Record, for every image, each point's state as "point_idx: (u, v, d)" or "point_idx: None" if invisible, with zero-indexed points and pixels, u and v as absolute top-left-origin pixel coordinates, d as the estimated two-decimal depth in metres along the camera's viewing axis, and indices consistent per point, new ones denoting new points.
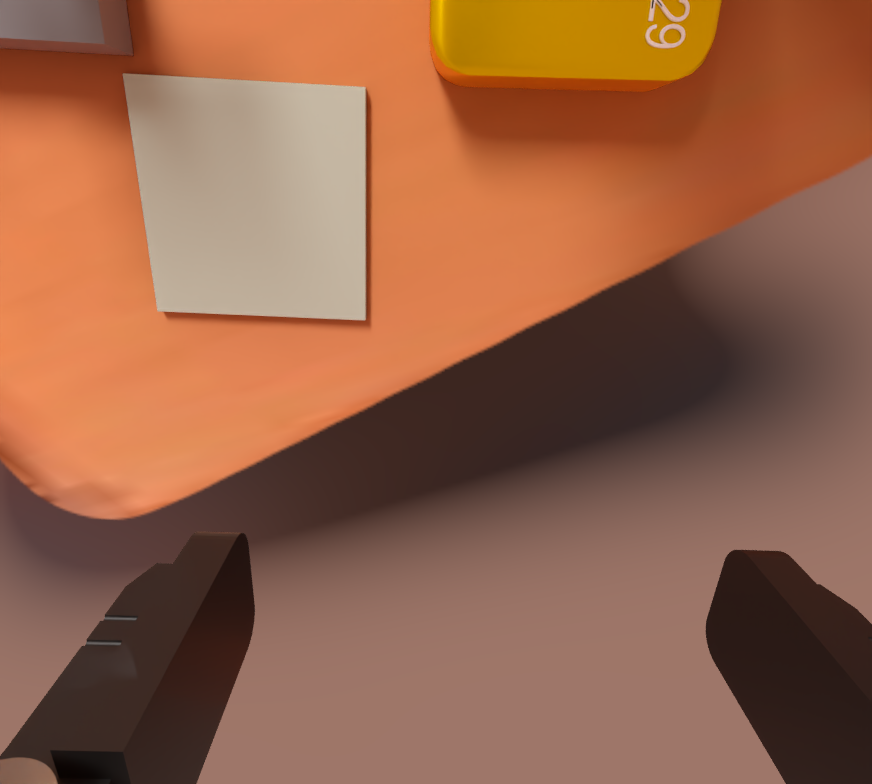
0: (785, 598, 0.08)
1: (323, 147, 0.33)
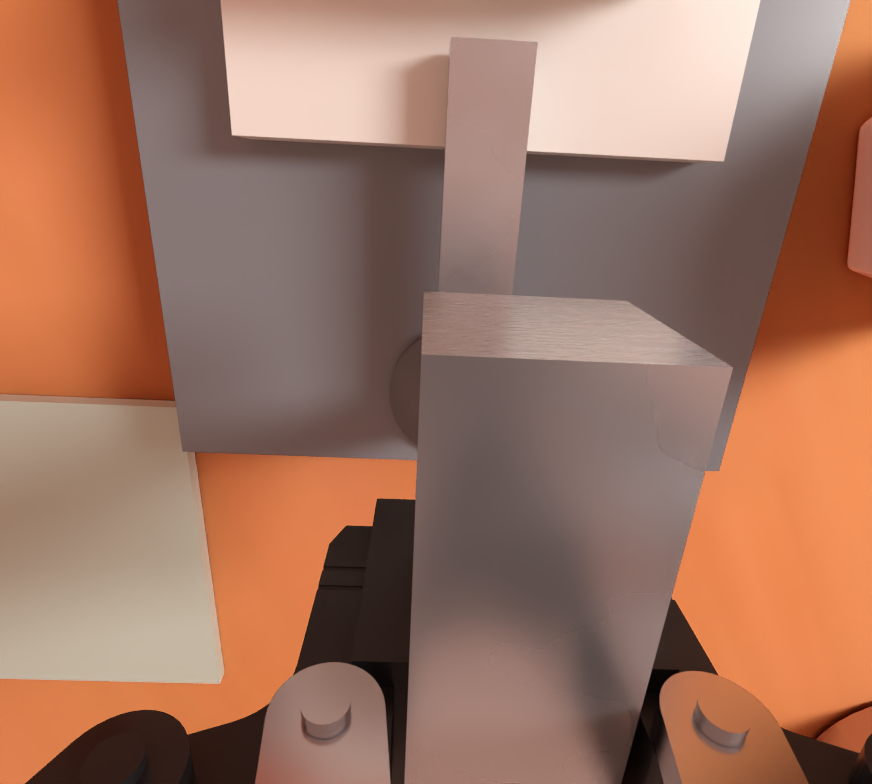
0: None
1: (138, 640, 0.24)
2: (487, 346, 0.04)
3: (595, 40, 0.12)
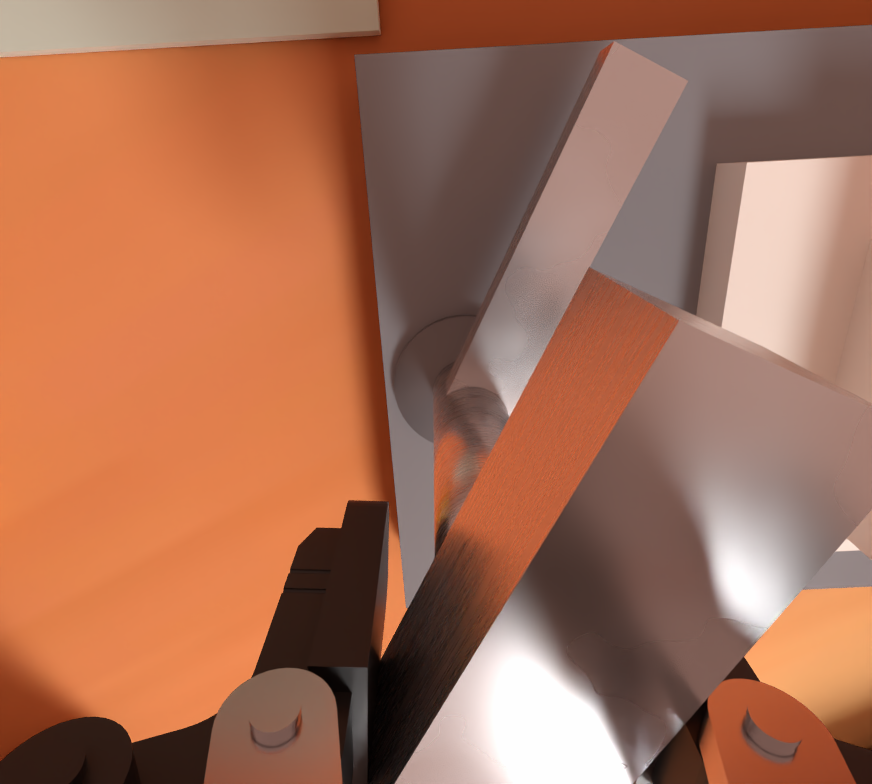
0: None
1: None
2: (720, 338, 0.04)
3: None
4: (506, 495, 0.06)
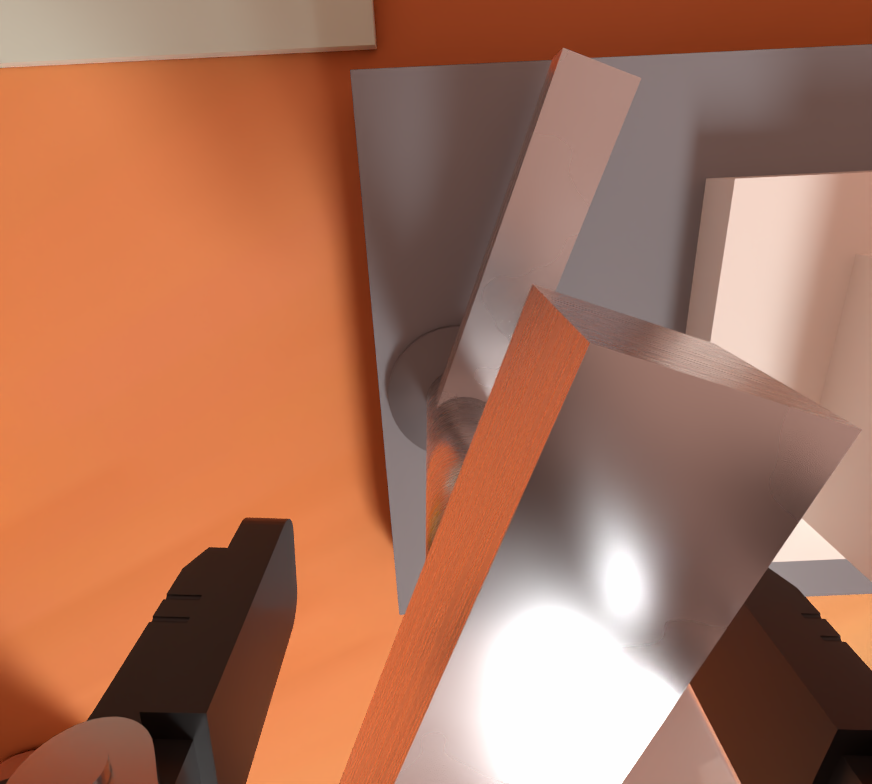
0: None
1: None
2: (639, 351, 0.05)
3: None
4: (469, 513, 0.06)
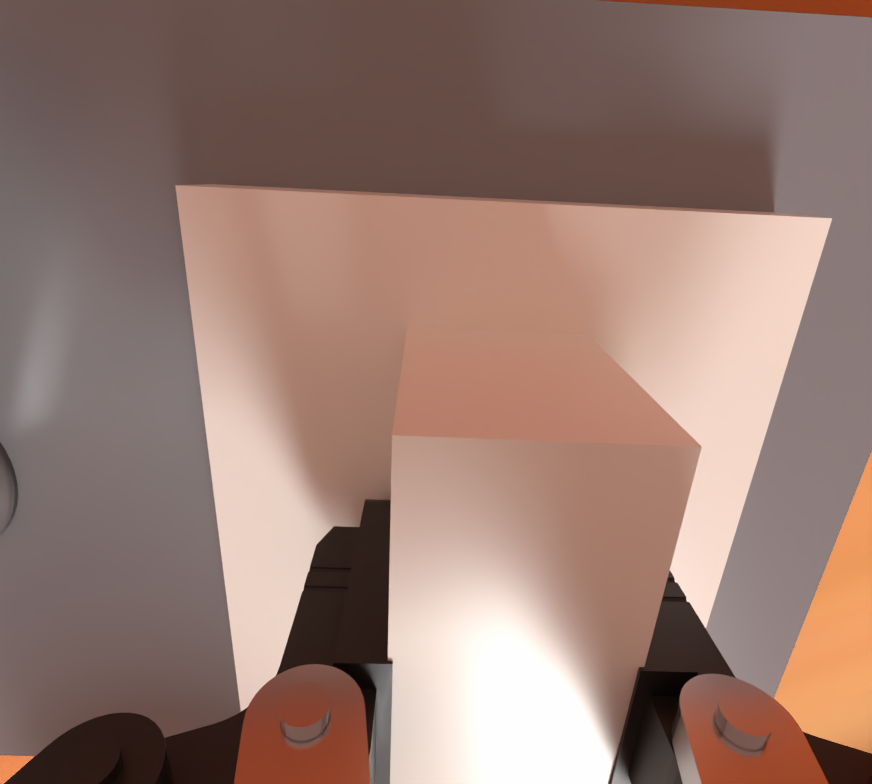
0: None
1: None
2: None
3: None
4: None
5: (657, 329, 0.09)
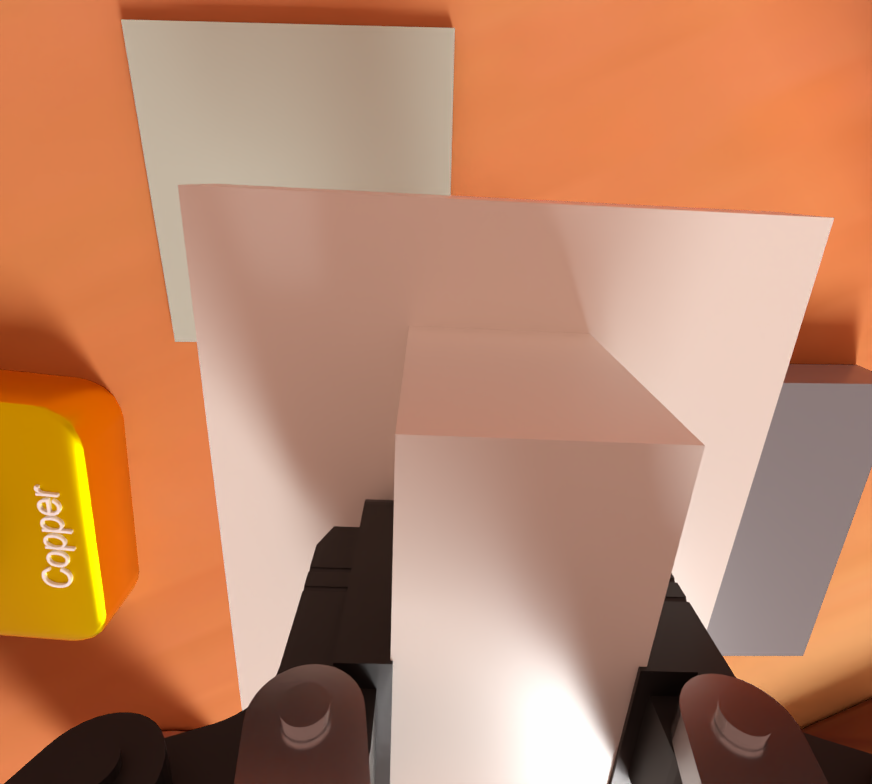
0: None
1: None
2: None
3: None
4: None
5: (659, 329, 0.09)
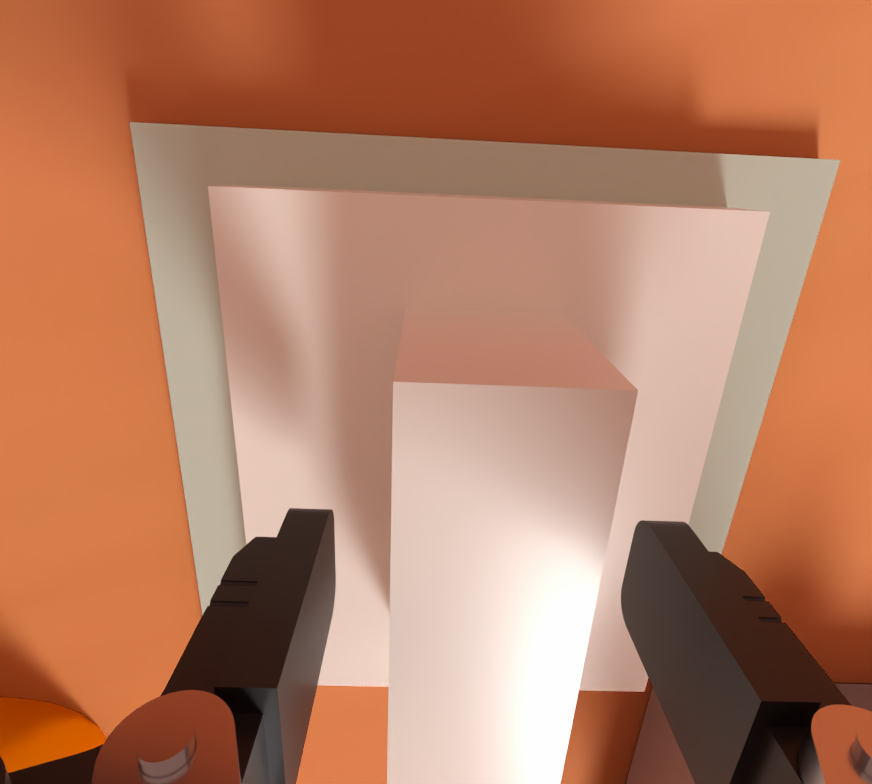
0: (675, 560, 0.08)
1: None
2: None
3: (351, 575, 0.13)
4: None
5: (622, 308, 0.10)
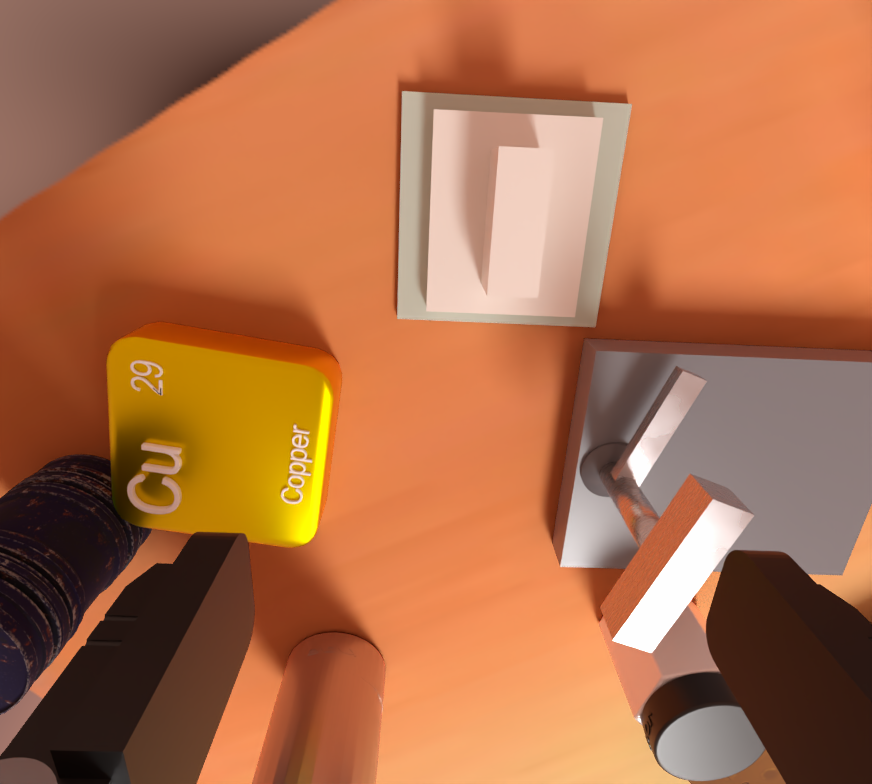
0: (785, 598, 0.08)
1: None
2: (719, 499, 0.27)
3: (465, 258, 0.34)
4: (674, 524, 0.29)
5: (559, 150, 0.32)
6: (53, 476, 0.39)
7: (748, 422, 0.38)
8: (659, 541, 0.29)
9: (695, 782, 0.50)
